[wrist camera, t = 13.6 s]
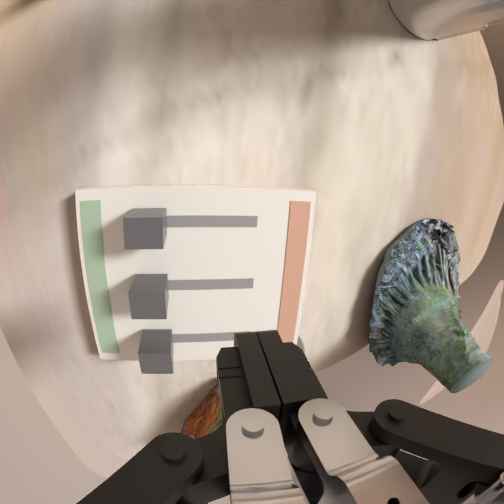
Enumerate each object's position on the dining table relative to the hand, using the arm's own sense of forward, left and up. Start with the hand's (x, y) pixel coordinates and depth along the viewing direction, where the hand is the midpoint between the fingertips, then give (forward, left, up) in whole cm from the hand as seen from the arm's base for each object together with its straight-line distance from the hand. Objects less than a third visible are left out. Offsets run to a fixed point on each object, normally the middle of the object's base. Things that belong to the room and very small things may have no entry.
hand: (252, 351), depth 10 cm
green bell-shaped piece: (-29, +9, -20) cm, 36 cm away
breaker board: (+1, +5, -19) cm, 20 cm away
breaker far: (+5, +11, -17) cm, 21 cm away
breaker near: (+5, -1, -17) cm, 18 cm away
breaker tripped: (+6, +5, -17) cm, 18 cm away
